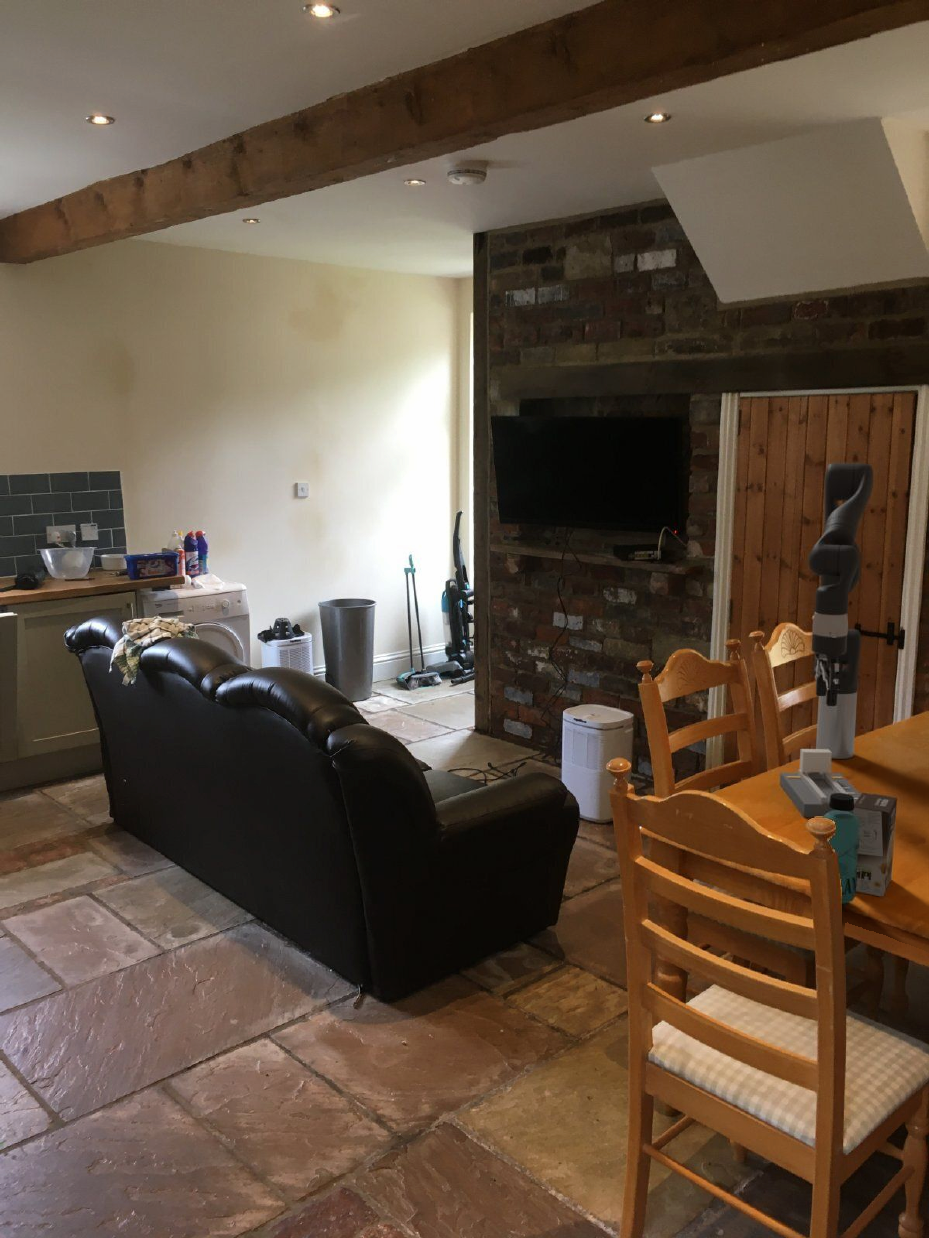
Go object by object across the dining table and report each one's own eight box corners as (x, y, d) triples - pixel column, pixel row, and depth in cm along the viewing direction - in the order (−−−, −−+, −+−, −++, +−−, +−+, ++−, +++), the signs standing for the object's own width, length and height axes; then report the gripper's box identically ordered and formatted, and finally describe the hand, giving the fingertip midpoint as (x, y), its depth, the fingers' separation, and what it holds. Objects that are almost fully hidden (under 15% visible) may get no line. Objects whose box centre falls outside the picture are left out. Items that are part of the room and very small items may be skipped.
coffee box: (884, 898, 178) (890, 812, 176) (846, 890, 182) (851, 806, 179) (892, 878, 186) (897, 796, 183) (855, 871, 189) (861, 791, 187)
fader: (798, 775, 235) (800, 748, 234) (826, 775, 234) (828, 748, 233) (802, 779, 232) (803, 752, 231) (830, 779, 231) (832, 752, 230)
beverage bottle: (820, 910, 174) (826, 801, 170) (812, 893, 180) (818, 788, 177) (859, 912, 173) (866, 802, 169) (850, 895, 179) (857, 789, 176)
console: (779, 784, 238) (780, 767, 237) (839, 785, 237) (840, 768, 236) (803, 817, 217) (804, 798, 216) (869, 818, 216) (870, 799, 215)
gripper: (804, 625, 235) (801, 692, 238) (821, 638, 221) (817, 709, 224) (837, 626, 234) (833, 692, 237) (856, 638, 220) (852, 709, 223)
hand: (825, 700), depth 230 cm, fingers open, 8 cm apart
